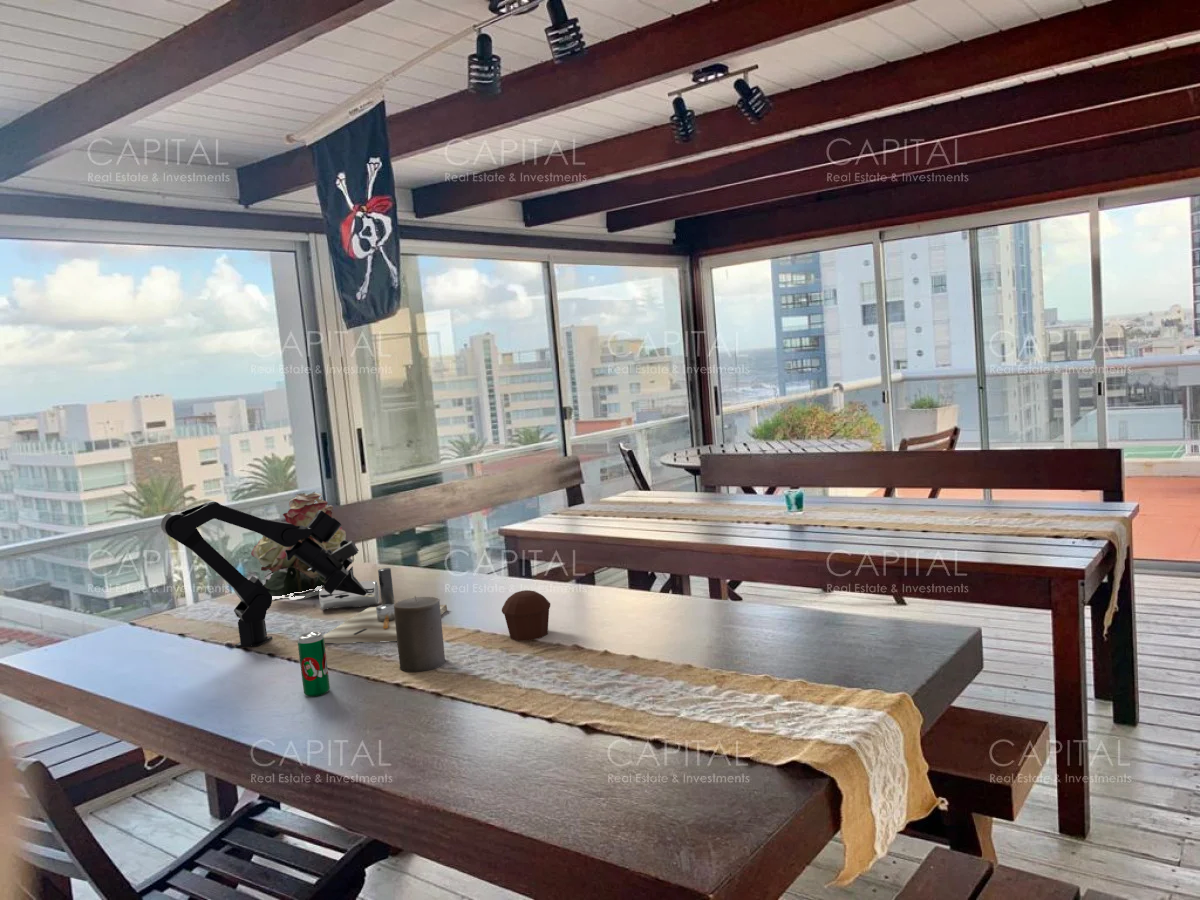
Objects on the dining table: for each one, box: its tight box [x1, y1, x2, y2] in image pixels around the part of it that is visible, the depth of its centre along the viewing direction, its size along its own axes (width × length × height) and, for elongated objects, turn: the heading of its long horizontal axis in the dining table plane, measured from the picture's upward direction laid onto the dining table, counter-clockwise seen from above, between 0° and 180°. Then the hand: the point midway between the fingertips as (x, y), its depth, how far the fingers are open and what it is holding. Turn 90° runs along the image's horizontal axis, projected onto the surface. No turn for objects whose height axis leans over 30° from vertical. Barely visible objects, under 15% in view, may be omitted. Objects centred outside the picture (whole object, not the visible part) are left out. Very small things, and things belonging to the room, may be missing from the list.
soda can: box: [297, 631, 331, 698], centre depth 180 cm, size 5×5×12 cm
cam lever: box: [375, 567, 396, 629], centre depth 225 cm, size 18×5×11 cm, turn 10°
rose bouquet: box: [250, 491, 352, 599], centre depth 272 cm, size 26×29×30 cm
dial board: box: [322, 604, 448, 644], centre depth 225 cm, size 26×22×2 cm
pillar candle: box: [394, 595, 446, 673], centre depth 192 cm, size 10×10×15 cm
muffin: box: [501, 589, 551, 642], centre depth 207 cm, size 12×11×10 cm
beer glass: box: [318, 579, 380, 610], centre depth 248 cm, size 7×7×15 cm
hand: (365, 594), depth 231 cm, fingers closed
